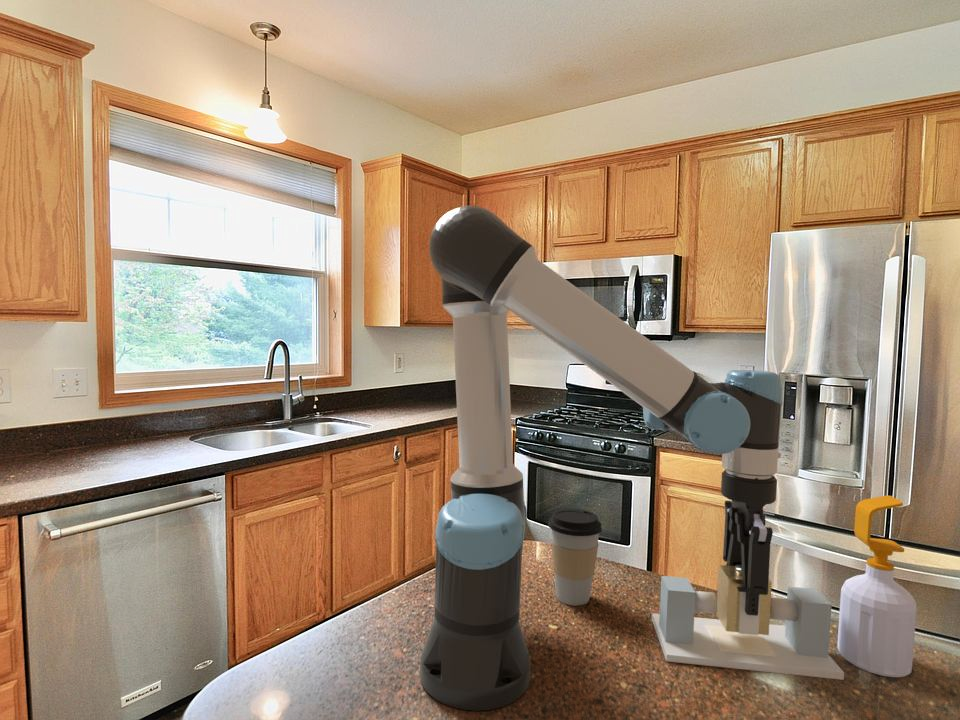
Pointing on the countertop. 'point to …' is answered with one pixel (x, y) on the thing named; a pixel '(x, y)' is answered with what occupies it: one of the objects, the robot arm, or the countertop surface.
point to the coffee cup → (574, 553)
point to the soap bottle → (877, 605)
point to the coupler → (737, 600)
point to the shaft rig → (712, 645)
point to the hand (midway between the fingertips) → (741, 622)
